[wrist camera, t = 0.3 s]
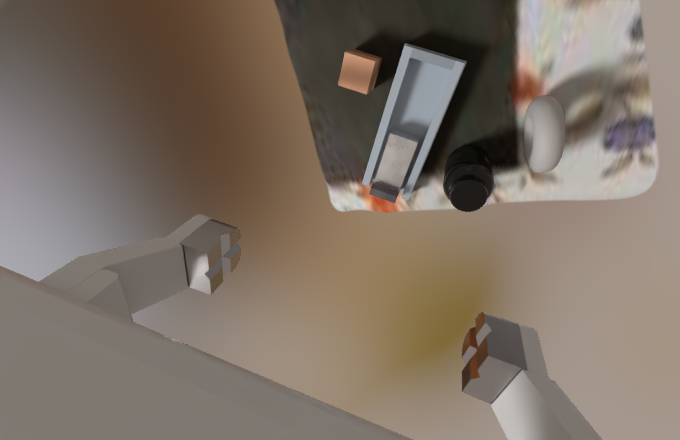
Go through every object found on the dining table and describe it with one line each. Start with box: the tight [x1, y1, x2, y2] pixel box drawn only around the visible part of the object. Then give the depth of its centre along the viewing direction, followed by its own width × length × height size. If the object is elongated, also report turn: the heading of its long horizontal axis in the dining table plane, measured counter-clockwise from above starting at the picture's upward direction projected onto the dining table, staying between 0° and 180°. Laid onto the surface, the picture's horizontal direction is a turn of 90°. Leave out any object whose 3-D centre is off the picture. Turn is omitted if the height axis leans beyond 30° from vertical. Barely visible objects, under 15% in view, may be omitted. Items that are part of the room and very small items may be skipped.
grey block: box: [369, 128, 420, 203], centre depth 53 cm, size 10×4×5 cm, turn 166°
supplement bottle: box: [443, 146, 494, 212], centre depth 48 cm, size 7×7×12 cm
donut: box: [524, 96, 565, 173], centre depth 43 cm, size 10×4×10 cm, turn 12°
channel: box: [362, 43, 467, 200], centre depth 51 cm, size 22×9×4 cm, turn 166°
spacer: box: [338, 49, 382, 94], centre depth 49 cm, size 4×4×5 cm
